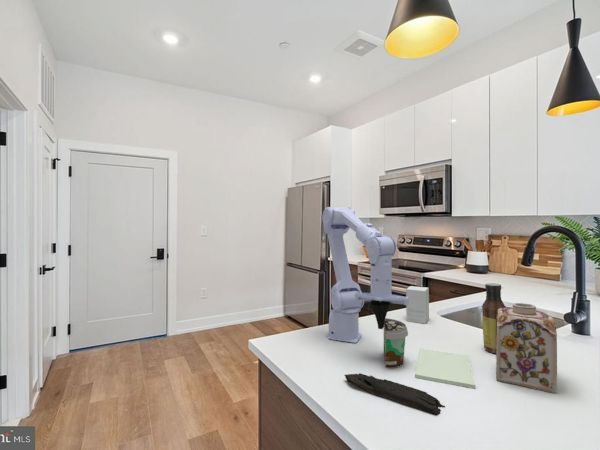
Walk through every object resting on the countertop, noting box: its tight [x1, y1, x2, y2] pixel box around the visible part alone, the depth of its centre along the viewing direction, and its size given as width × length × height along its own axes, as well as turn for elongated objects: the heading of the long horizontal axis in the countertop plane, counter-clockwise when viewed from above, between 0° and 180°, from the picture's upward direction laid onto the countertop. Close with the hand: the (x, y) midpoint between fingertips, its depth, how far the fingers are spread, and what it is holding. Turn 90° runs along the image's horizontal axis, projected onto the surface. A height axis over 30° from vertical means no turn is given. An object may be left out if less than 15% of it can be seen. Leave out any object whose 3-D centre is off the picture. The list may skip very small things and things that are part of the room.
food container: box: [383, 317, 409, 369], centre depth 88 cm, size 12×6×10 cm, turn 168°
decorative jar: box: [495, 302, 558, 394], centre depth 79 cm, size 12×12×18 cm
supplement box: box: [405, 285, 430, 324], centre depth 125 cm, size 7×7×13 cm
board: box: [414, 347, 476, 389], centre depth 84 cm, size 13×18×1 cm
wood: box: [344, 372, 446, 416], centre depth 72 cm, size 22×7×3 cm, turn 54°
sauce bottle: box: [482, 282, 507, 355], centre depth 95 cm, size 6×6×20 cm
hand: (381, 328), depth 90 cm, fingers closed
